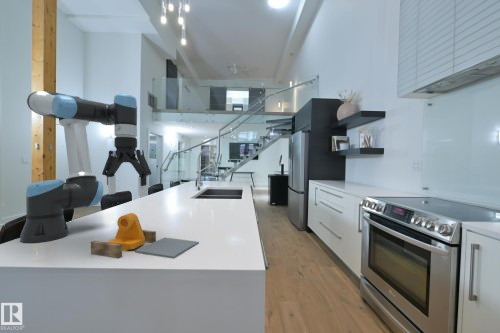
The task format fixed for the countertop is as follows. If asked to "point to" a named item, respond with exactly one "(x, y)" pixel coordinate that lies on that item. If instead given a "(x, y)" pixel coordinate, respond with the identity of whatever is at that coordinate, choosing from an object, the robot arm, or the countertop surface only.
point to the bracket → (129, 232)
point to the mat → (167, 247)
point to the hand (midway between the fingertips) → (126, 194)
